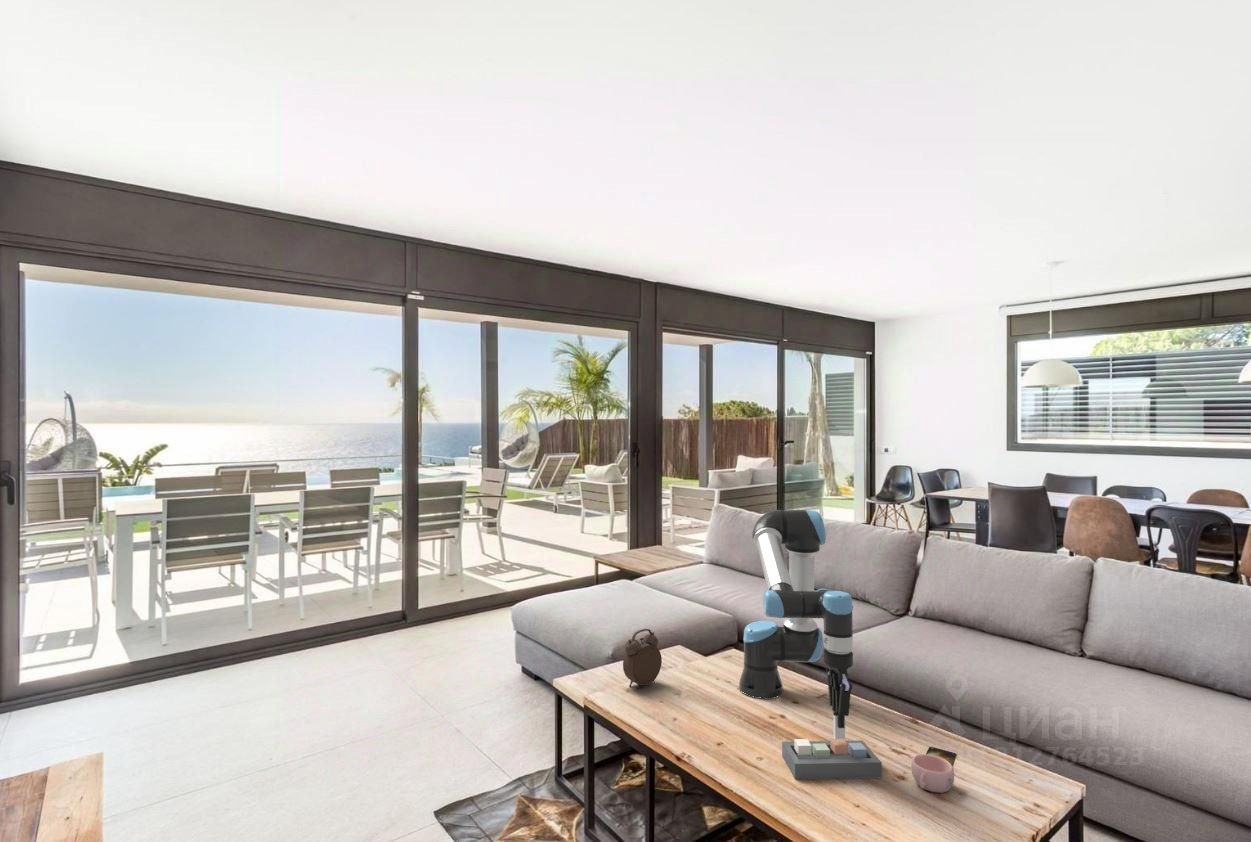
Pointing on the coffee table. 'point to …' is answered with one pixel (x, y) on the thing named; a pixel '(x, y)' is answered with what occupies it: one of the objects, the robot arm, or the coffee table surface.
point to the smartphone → (942, 754)
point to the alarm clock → (642, 659)
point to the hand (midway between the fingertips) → (839, 737)
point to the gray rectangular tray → (831, 764)
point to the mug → (932, 773)
